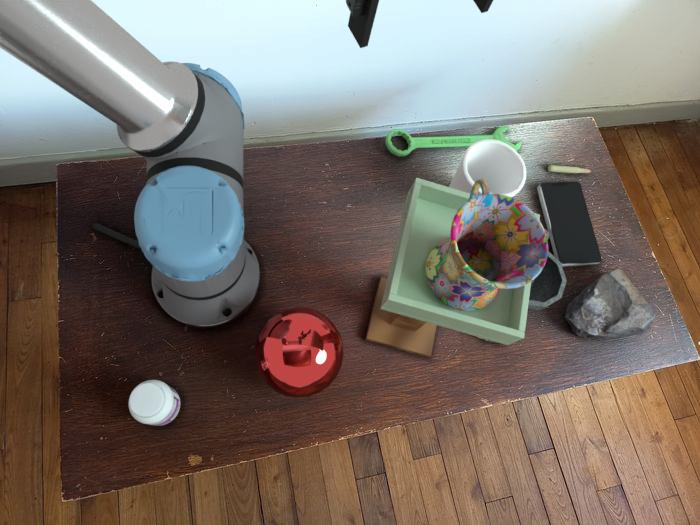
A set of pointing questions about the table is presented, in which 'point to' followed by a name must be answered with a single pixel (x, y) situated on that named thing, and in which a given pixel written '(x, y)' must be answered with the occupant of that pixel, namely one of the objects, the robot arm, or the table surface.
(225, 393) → the table surface
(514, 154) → the cup
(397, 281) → the tray
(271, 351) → the ball
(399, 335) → the stand
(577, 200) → the smartphone
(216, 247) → the robot arm
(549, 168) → the bullet
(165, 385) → the pill bottle
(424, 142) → the wrench
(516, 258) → the mug
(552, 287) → the mortar and pestle
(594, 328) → the rock
